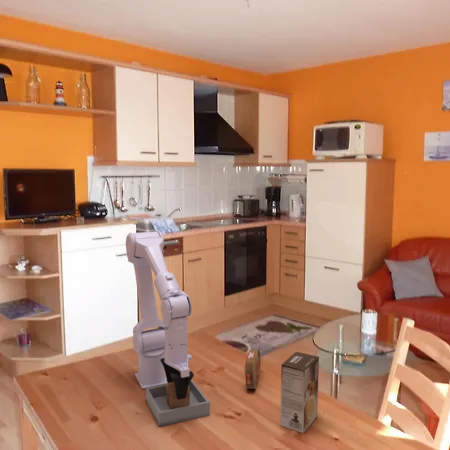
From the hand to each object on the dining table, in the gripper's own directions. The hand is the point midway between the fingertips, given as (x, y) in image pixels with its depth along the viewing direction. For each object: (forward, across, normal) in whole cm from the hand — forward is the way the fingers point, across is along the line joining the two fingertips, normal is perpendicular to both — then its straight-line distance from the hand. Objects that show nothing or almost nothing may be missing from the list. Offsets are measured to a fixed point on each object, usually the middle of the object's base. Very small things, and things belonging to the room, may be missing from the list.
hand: (176, 391), depth 117 cm
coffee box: (+5, -18, -26) cm, 32 cm away
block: (+4, 0, 0) cm, 4 cm away
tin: (+5, +5, -25) cm, 26 cm away
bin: (+4, 0, 0) cm, 5 cm away
